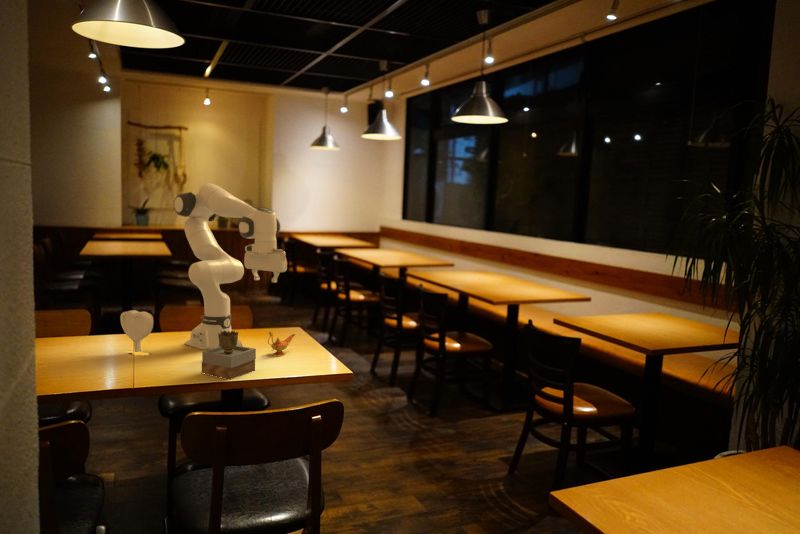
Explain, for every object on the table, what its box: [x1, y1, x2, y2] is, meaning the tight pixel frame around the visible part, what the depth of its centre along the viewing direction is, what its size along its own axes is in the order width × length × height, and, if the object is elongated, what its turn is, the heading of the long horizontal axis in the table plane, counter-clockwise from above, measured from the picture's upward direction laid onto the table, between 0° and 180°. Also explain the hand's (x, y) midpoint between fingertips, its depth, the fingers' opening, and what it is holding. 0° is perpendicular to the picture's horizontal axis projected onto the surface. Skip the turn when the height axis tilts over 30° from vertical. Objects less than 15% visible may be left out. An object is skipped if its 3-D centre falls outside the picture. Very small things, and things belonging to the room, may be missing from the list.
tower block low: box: [201, 359, 256, 380], centre depth 230 cm, size 14×14×5 cm
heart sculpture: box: [119, 309, 154, 352], centre depth 253 cm, size 16×5×18 cm, turn 65°
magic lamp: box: [267, 331, 296, 356], centre depth 259 cm, size 7×18×11 cm, turn 151°
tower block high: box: [201, 345, 257, 368], centre depth 230 cm, size 14×14×4 cm
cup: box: [218, 330, 239, 354], centre depth 229 cm, size 8×7×8 cm
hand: (265, 281), depth 247 cm, fingers open, 8 cm apart
